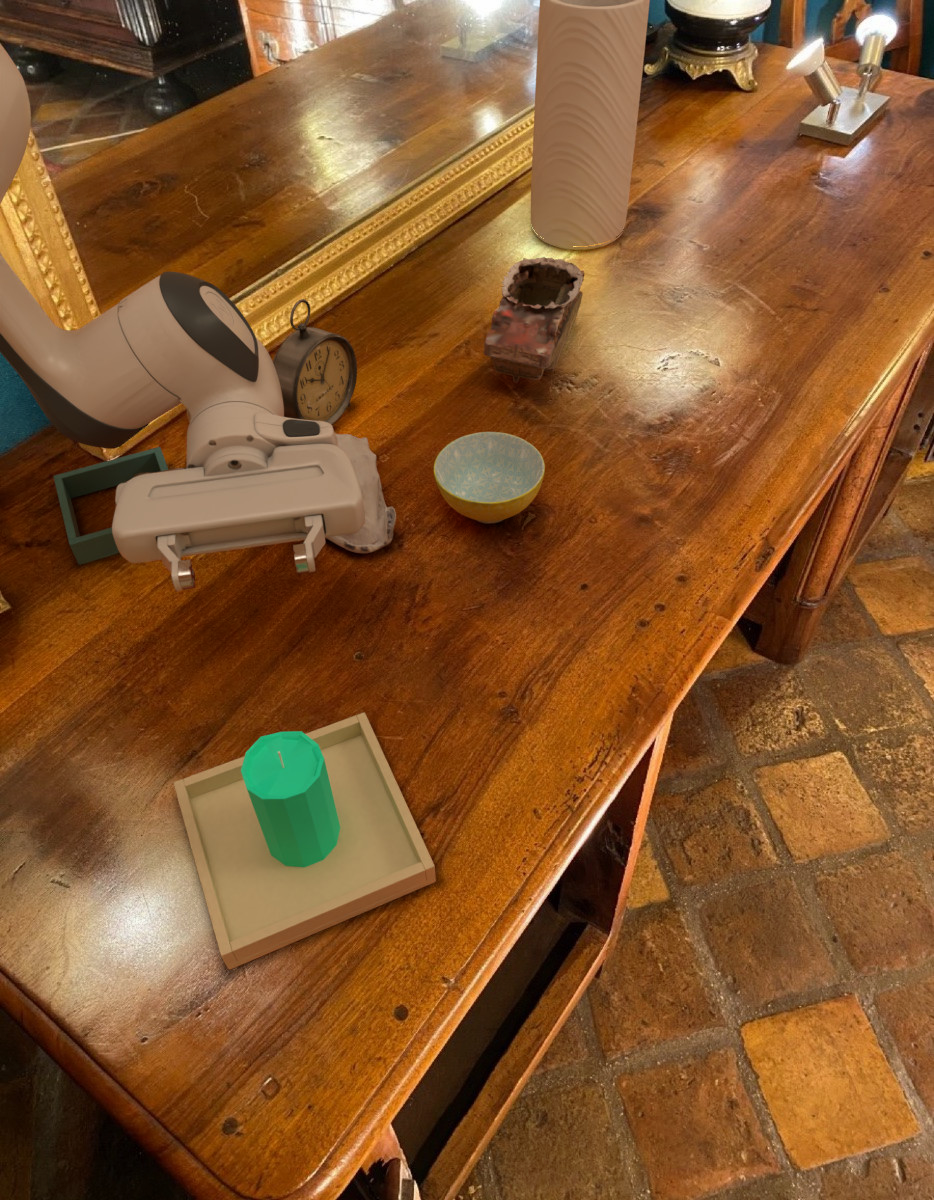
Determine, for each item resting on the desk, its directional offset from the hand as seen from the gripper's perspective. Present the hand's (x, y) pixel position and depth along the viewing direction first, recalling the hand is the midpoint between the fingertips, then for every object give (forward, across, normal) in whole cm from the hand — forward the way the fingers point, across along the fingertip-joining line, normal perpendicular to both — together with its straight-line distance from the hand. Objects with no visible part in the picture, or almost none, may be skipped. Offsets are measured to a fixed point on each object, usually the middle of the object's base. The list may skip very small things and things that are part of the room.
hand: (244, 576), depth 74 cm
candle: (+14, +1, +16) cm, 21 cm away
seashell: (-23, +10, +16) cm, 30 cm away
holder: (-28, -15, +16) cm, 35 cm away
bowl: (-20, +24, +16) cm, 35 cm away
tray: (+15, +1, +16) cm, 22 cm away
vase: (-78, +50, +16) cm, 94 cm away
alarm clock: (-39, +7, +16) cm, 43 cm away
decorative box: (-46, +37, +16) cm, 61 cm away
